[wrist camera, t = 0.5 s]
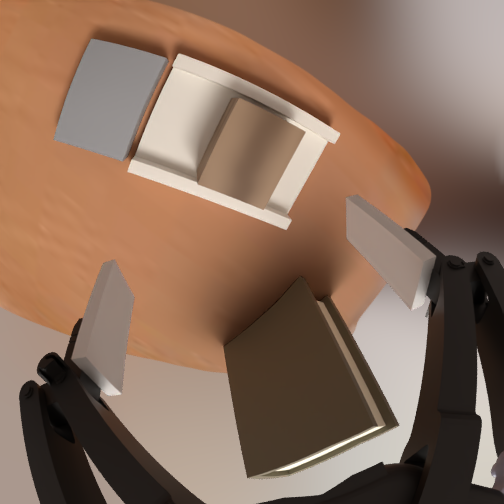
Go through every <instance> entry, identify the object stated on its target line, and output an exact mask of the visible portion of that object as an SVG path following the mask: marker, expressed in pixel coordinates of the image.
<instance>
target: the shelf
mask: <svg viewBox="0 0 504 504" xmlns="http://www.w3.org/2000/svg"><path fill="white" fill-rule="evenodd" d="M172 66H173V69H172V71H171V73H170V75H169V77H168V79H167V81H166V83H165V85H164V87H163V90H162V92H161V94H160V96H159V98H158V100H157V103H156V105H155V107H154V109H153V112H152V114H151V116H150V119H149V121H148V123H147V126H146V128H145V131H144V133H143V136H142V138H141V141H140V144H139V146H138V149H137V152H136V154H135V156H134V157H133V158H132V160H131V163H130V166H129V169H128V172H130V173H133V174H136V175H139V176H142V177H145V178H148V179H150V180H153V181H156V182H159V183H162V184H165V185H168V186H170V187H173V188H176V189H179V190H182V191H184V192H187V193H190V194H193V195H196V196H198V197H201V198H204V199H207V200H209V201H212V202H215V203H217V204H220V205H223V206H225V207H228V208H231V209H233V210H236V211H239V212H241V213H244V214H246V215H249V216H252V217H254V218H257V219H259V220H262V221H265V222H267V223H270V224H272V225H275V226H277V227H280V228H282V229H285V230H287V228H288V226H289V224H290V223H291V221H292V220H291V218H290V217H289V216H288V212H289V210H290V209H291V207H292V205H293V203H294V201H295V200H296V198H297V196H298V194H299V193H300V191H301V189H302V187H303V185H304V184H305V182H306V180H307V178H308V177H309V175H310V173H311V171H312V169H313V168H314V166H315V164H316V162H317V160H318V159H319V157H320V155H321V153H322V151H323V149H324V148H325V146H326V144H327V142H328V141H329V142H331V143H334V144H335V143H336V141H337V139H338V137H339V135H340V133H339V132H337V131H335V130H334V129H332V128H331V127H329V126H328V125H326V124H325V123H323V122H321V121H320V120H318V119H316V118H315V117H313V116H311V115H310V114H308V113H306V112H305V111H303V110H301V109H300V108H298V107H296V106H294V105H292V104H291V103H289V102H287V101H285V100H283V99H282V98H280V97H278V96H276V95H274V94H272V93H270V92H268V91H266V90H264V89H262V88H260V87H258V86H256V85H254V84H252V83H250V82H248V81H246V80H244V79H241V78H239V77H237V76H235V75H233V74H230V73H228V72H226V71H223V70H221V69H219V68H216V67H214V66H211V65H209V64H206V63H204V62H201V61H199V60H196V59H193V58H191V57H188V56H185V55H182V54H178V56H177V57H176V59H175V61H174V63H173V65H172ZM231 98H241V99H243V100H245V101H248V102H250V103H252V104H254V105H256V106H258V107H260V108H262V109H264V110H266V111H268V112H270V113H272V114H274V115H276V116H278V117H280V118H282V119H283V120H285V121H287V122H289V123H291V124H293V125H295V126H296V127H298V128H300V129H302V130H304V131H305V132H306V133H305V135H304V137H303V138H302V140H301V142H300V144H299V146H298V148H297V149H296V151H295V153H294V155H293V157H292V159H291V160H290V162H289V164H288V166H287V168H286V170H285V172H284V173H283V175H282V177H281V179H280V181H279V183H278V184H277V186H276V188H275V190H274V192H273V194H272V196H271V198H270V199H269V201H268V203H267V205H266V207H265V209H264V210H262V209H260V208H257V207H255V206H252V205H250V204H247V203H245V202H242V201H240V200H237V199H235V198H232V197H229V196H227V195H224V194H222V193H219V192H216V191H214V190H211V189H208V188H206V187H203V186H201V185H198V184H197V171H196V170H197V168H198V166H199V164H200V161H201V159H202V157H203V155H204V153H205V150H206V148H207V146H208V144H209V142H210V140H211V138H212V136H213V133H214V131H215V129H216V127H217V125H218V123H219V121H220V119H221V117H222V115H223V113H224V111H225V109H226V107H227V105H228V103H229V101H230V100H231Z"/></svg>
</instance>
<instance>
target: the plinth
mask: <svg viewBox="0 0 504 504" xmlns="http://www.w3.org/2000/svg"><path fill="white" fill-rule="evenodd" d="M168 62H169V61H168V60H167V58H165V57H162V56H159V55H155V54H152V53H149V52H145V51H142V50H138V49H135V48H131V47H127V46H123V45H119V44H115V43H111V42H106V41H101V40H97V39H91V40H90V42H89V44H88V46H87V48H86V51H85V53H84V55H83V57H82V59H81V62H80V64H79V66H78V69H77V71H76V73H75V76H74V78H73V81H72V83H71V86H70V89H69V91H68V94H67V97H66V100H65V103H64V106H63V109H62V112H61V115H60V118H59V122H58V125H57V129H56V132H55V136H54V140H56V141H59V142H62V143H66V144H69V145H72V146H76V147H79V148H82V149H85V150H89V151H92V152H95V153H98V154H101V155H104V156H108V157H111V158H114V159H117V160H120V161H124V160H125V159H126V158H127V157H128V155H129V152H130V149H131V146H132V144H133V141H134V138H135V136H136V133H137V130H138V128H139V125H140V123H141V120H142V118H143V116H144V113H145V111H146V108H147V106H148V104H149V102H150V99H151V97H152V95H153V93H154V91H155V88H156V86H157V84H158V82H159V80H160V78H161V76H162V74H163V72H164V70H165V68H166V66H167V64H168Z"/></svg>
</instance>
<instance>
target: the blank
mask: <svg viewBox="0 0 504 504" xmlns="http://www.w3.org/2000/svg"><path fill="white" fill-rule="evenodd" d="M305 133H306V132H305V131H304V130H302V129H300V128H298V127H296V126H295V125H293V124H291V123H289V122H287V121H285V120H283V119H282V118H280V117H278V116H276V115H274V114H272V113H270V112H268V111H266V110H264V109H262V108H260V107H258V106H256V105H254V104H252V103H250V102H248V101H245V100H243V99H241V98H231V100H230V101H229V103H228V105H227V107H226V109H225V111H224V113H223V115H222V117H221V119H220V121H219V123H218V125H217V127H216V129H215V131H214V133H213V136H212V138H211V140H210V142H209V144H208V146H207V148H206V150H205V153H204V155H203V157H202V159H201V161H200V164H199V166H198V168H197V170H196V171H197V184H198V185H201V186H203V187H206V188H208V189H211V190H214V191H216V192H219V193H222V194H224V195H227V196H229V197H232V198H235V199H237V200H240V201H242V202H245V203H247V204H250V205H252V206H255V207H257V208H260V209H262V210H264V209H265V207H266V205H267V203H268V201H269V199H270V198H271V196H272V194H273V192H274V190H275V188H276V186H277V184H278V183H279V181H280V179H281V177H282V175H283V173H284V172H285V170H286V168H287V166H288V164H289V162H290V160H291V159H292V157H293V155H294V153H295V151H296V149H297V148H298V146H299V144H300V142H301V140H302V138H303V137H304V135H305Z"/></svg>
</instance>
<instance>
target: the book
mask: <svg viewBox="0 0 504 504" xmlns="http://www.w3.org/2000/svg"><path fill="white" fill-rule="evenodd" d="M224 353H225V360H226V366H227V372H228V378H229V384H230V390H231V396H232V402H233V407H234V412H235V419H236V424H237V429H238V434H239V440H240V445H241V450H242V455H243V460H244V464H245V469H246V474H247V478H251V479H268V478H269V479H270V478H279V477H286V476H290V475H293V474H296V473H298V472H301V471H303V470H306V469H308V468H311V467H313V466H315V465H317V464H320V463H322V462H324V461H327V460H329V459H331V458H333V457H335V456H338V455H340V454H341V453H344V452H346V451H348V450H350V449H352V448H353V447H356V446H358V445H359V444H362V443H364V442H366V441H369V440H371V439H373V438H375V437H377V436H380V435H381V434H384V433H386V432H388V431H390V430H392V429H394V428H396V427H398V426H399V424H398V422H397V420H396V418H395V416H394V414H393V412H392V410H391V408H390V406H389V404H388V402H387V400H386V398H385V396H384V394H383V392H382V390H381V388H380V386H379V384H378V382H377V381H376V379H375V377H374V375H373V373H372V371H371V369H370V367H369V365H368V363H367V362H366V360H365V358H364V356H363V354H362V352H361V351H360V349H359V347H358V345H357V343H356V341H355V340H354V338H353V336H352V334H351V332H350V331H349V329H348V327H347V325H346V324H345V322H344V320H343V318H342V317H341V315H340V313H339V311H338V310H337V308H336V306H335V304H334V303H333V301H332V299H331V297H329V296H328V295H326V296H325V297H324V298H323V299H322V300H321V301H317V300H316V299H315V297H314V295H313V293H312V292H311V290H310V288H309V286H308V284H307V282H306V280H305V279H304V278H303V277H301V276H300V277H299V278H298V279H297V280H296V281H295V282H294V283H293V285H292V286H291V287H290V288H289V289H288V290H287V291H286V292H285V294H284V295H283V296H282V297H281V298H280V299H279V300H278V301H277V303H276V304H274V305H273V306H272V307H271V308H270V309H269V310H268V311H267V312H265V313H264V314H263V315H262V316H261V317H260V318H259V319H258V320H256V321H255V322H254V323H253V324H252V325H251V326H250V327H248V328H247V329H246V330H245V331H243V332H242V333H241V334H239V335H238V336H237V337H236V338H234V339H233V340H232V341H231V342H229V343H228V344H227V345H225V346H224Z"/></svg>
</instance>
